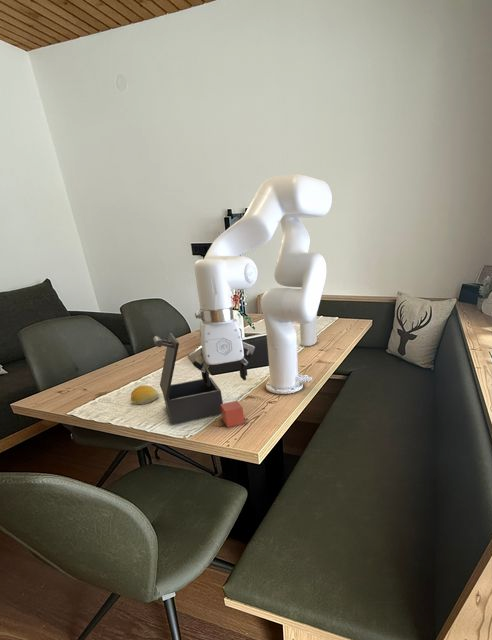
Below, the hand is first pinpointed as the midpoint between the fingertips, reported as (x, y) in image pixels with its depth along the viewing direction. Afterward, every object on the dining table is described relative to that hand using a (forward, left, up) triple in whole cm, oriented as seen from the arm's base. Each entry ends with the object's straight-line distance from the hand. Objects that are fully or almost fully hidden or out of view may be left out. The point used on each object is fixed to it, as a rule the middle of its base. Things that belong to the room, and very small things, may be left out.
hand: (226, 381), depth 95 cm
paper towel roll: (-25, -74, -12) cm, 79 cm away
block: (-1, 0, -12) cm, 12 cm away
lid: (+16, -6, +3) cm, 18 cm away
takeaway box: (+12, -8, -12) cm, 19 cm away
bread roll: (+31, -18, -12) cm, 38 cm away
